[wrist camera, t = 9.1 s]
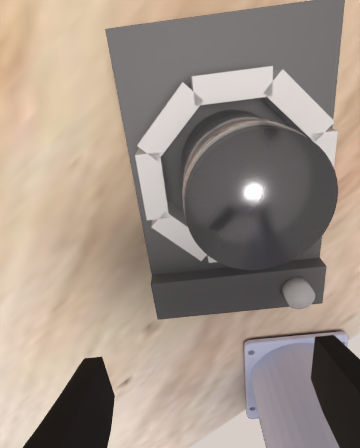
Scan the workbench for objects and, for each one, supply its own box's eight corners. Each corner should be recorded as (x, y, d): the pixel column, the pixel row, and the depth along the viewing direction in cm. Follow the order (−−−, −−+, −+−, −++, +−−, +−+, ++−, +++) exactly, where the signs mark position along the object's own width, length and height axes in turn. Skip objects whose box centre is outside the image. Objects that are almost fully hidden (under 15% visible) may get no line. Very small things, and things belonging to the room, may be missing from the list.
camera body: (291, 258, 21) (328, 316, 16) (161, 272, 21) (157, 333, 16) (303, 16, 15) (370, -17, 10) (122, 41, 15) (95, 21, 10)
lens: (287, 108, 13) (358, 127, 8) (271, 207, 15) (320, 271, 10) (181, 107, 13) (184, 124, 8) (179, 206, 15) (181, 271, 10)
